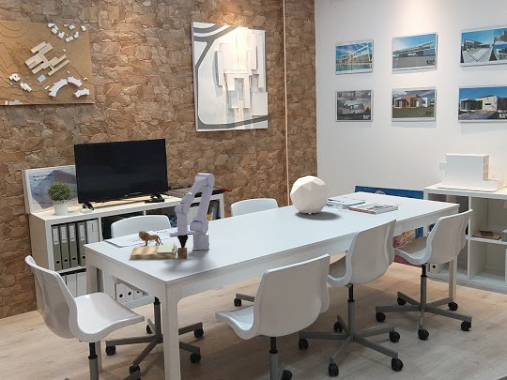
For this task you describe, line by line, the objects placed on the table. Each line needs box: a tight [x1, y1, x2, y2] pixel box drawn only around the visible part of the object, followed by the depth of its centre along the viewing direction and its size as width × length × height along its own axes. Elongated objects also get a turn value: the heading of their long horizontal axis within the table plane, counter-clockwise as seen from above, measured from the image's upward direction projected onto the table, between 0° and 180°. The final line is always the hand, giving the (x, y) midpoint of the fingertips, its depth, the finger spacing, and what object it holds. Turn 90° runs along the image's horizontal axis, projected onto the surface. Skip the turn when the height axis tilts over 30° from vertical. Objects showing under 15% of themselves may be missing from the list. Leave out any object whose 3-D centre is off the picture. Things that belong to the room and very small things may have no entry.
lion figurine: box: [138, 230, 165, 247], centre depth 334 cm, size 15×5×9 cm, turn 91°
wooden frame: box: [129, 245, 178, 260], centre depth 314 cm, size 24×17×3 cm
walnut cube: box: [176, 247, 188, 260], centre depth 308 cm, size 5×5×5 cm
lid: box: [157, 242, 176, 253], centre depth 314 cm, size 9×16×2 cm, turn 5°
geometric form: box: [289, 175, 330, 214], centre depth 426 cm, size 28×30×30 cm
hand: (183, 248), depth 315 cm, fingers closed
